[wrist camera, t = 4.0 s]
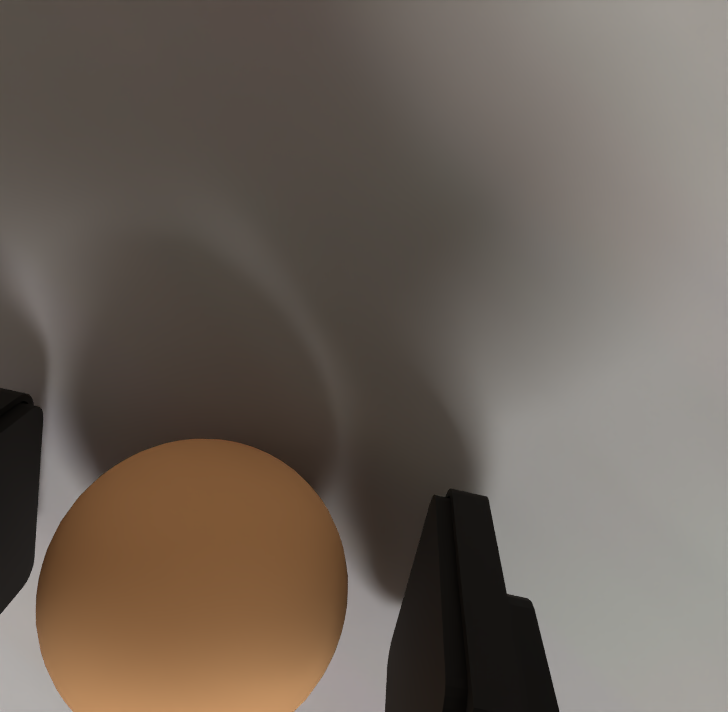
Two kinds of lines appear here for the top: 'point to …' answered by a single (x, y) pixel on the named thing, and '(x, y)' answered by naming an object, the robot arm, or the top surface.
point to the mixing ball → (192, 585)
